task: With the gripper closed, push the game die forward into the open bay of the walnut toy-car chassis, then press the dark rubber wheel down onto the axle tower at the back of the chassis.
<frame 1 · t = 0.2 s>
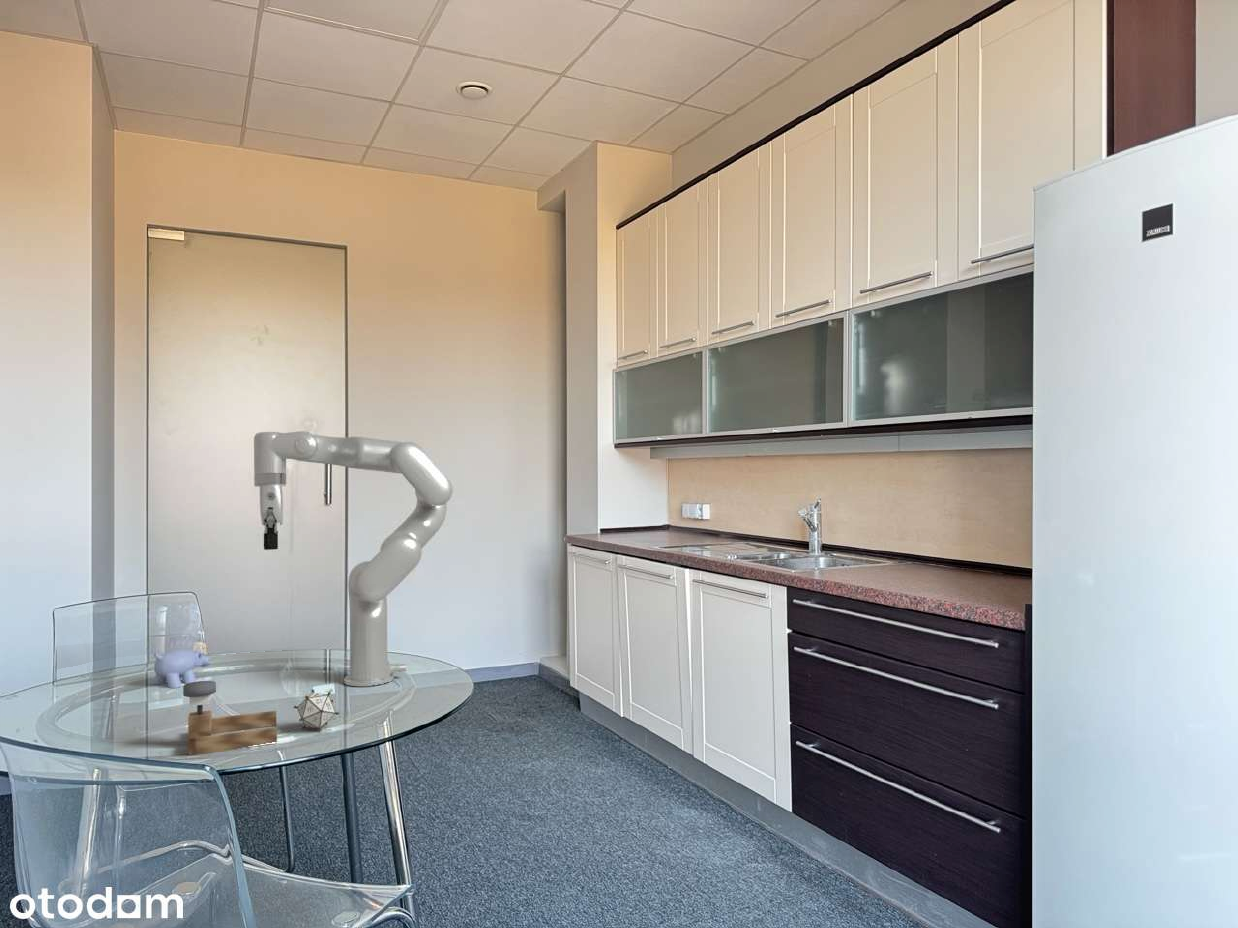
hand: (271, 547, 208), 37 cm above the table, tool pointing down, fingers open, 9 cm apart
chassis: (235, 738, 171), on the table
wheel: (199, 693, 169), point 10 cm above the table, slide at 0.0 cm
hippopotamus toy: (181, 682, 220), on the table
game die: (316, 729, 177), on the table
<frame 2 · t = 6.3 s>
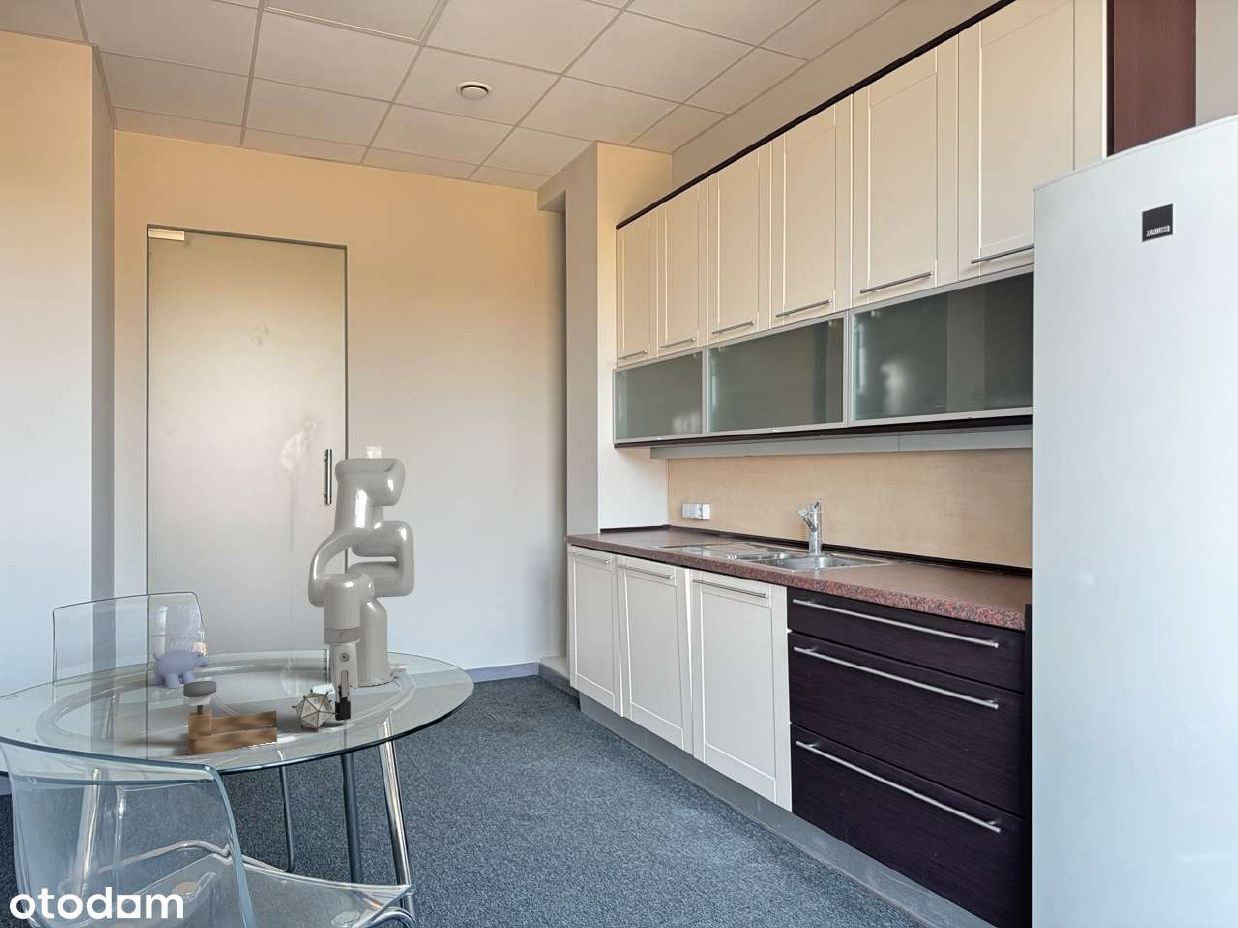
hand: (343, 718, 179), 1 cm above the table, tool pointing down, fingers closed
game die: (314, 729, 177), on the table, touching gripper
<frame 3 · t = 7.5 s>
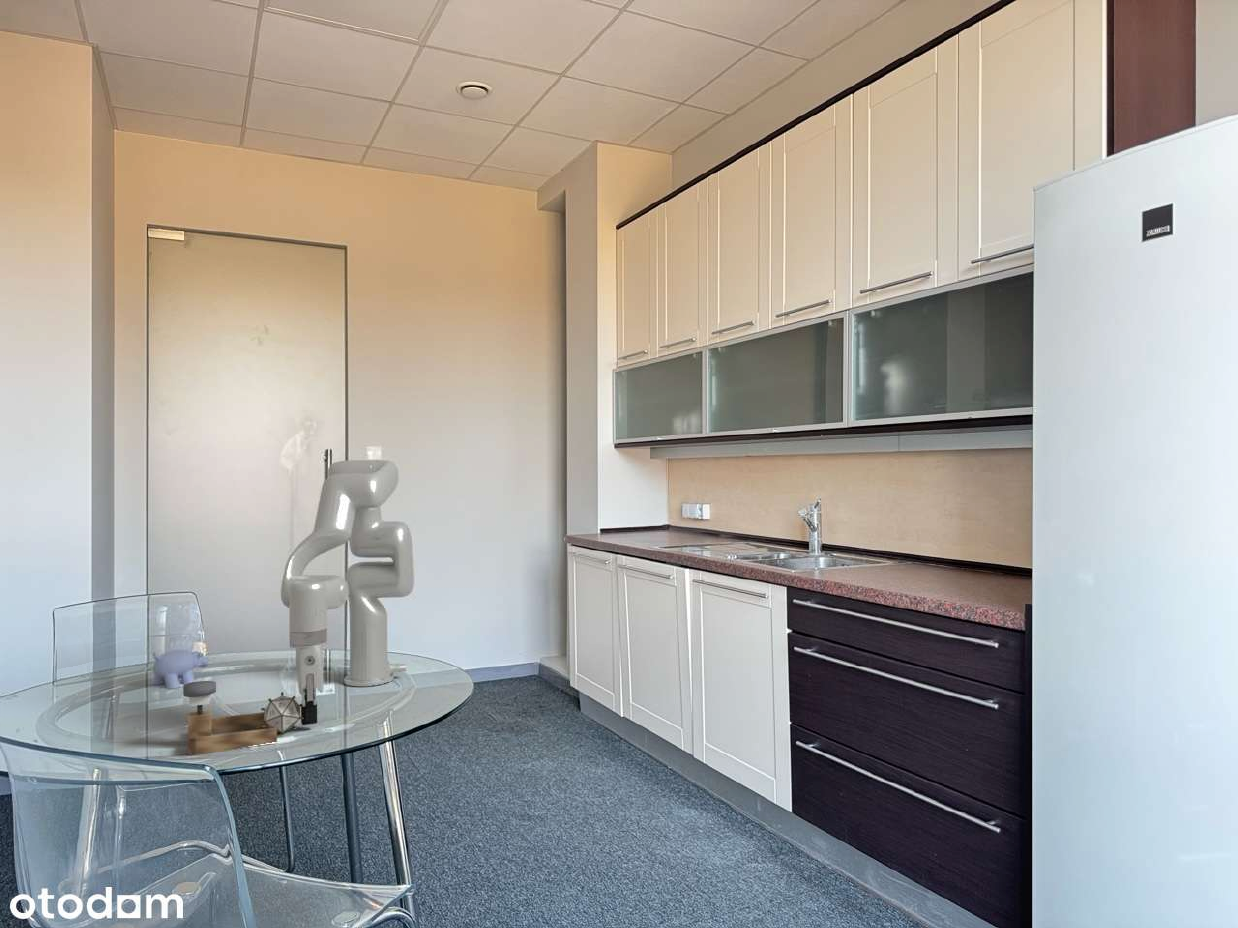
hand: (309, 723, 177), 1 cm above the table, tool pointing down, fingers closed
game die: (282, 733, 175), on the table, touching gripper
everything else where it was.
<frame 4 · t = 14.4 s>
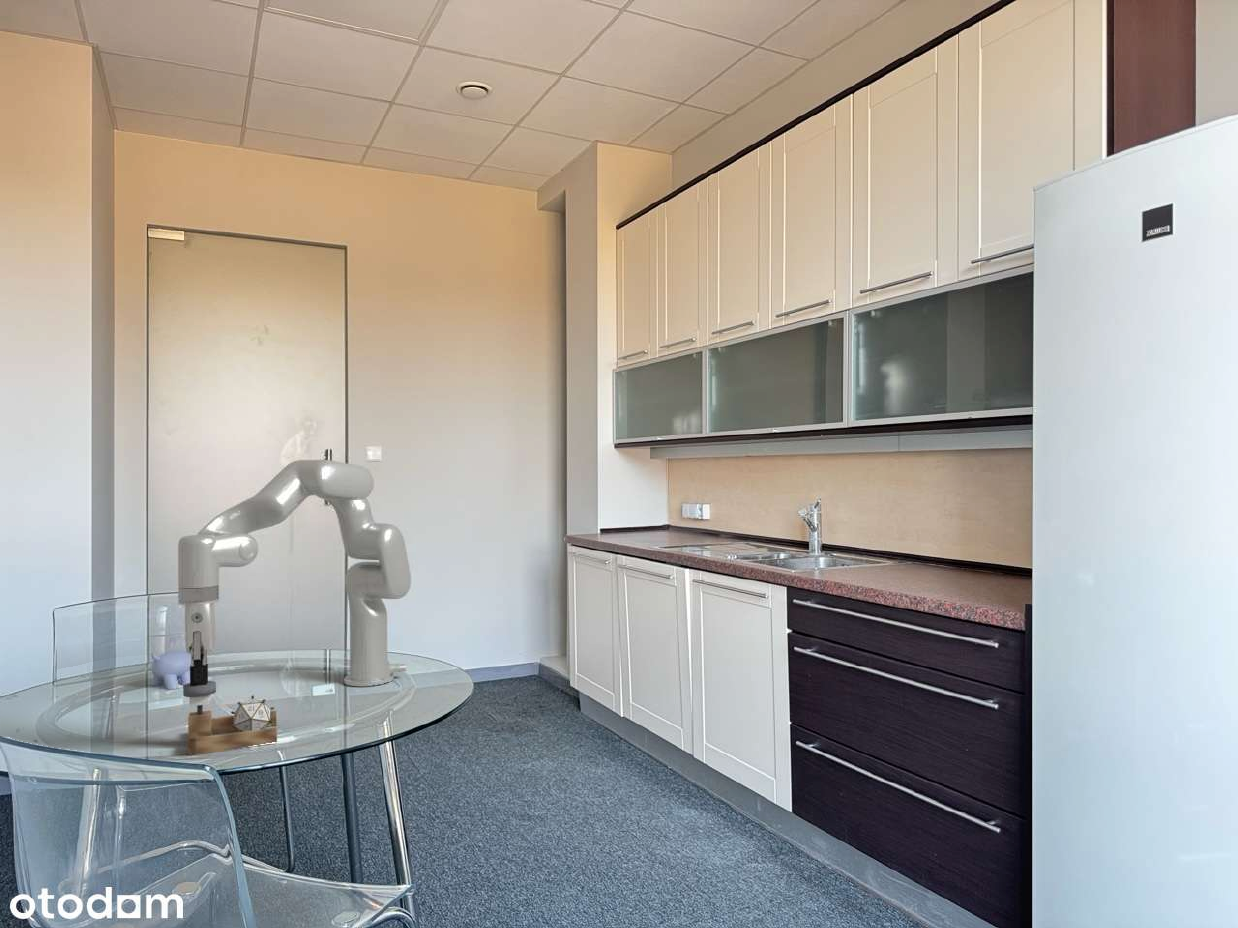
hand: (199, 684, 168), 12 cm above the table, tool pointing down, fingers closed
wheel: (199, 693, 169), point 10 cm above the table, slide at 0.0 cm, touching gripper
game die: (252, 737, 173), resting in chassis
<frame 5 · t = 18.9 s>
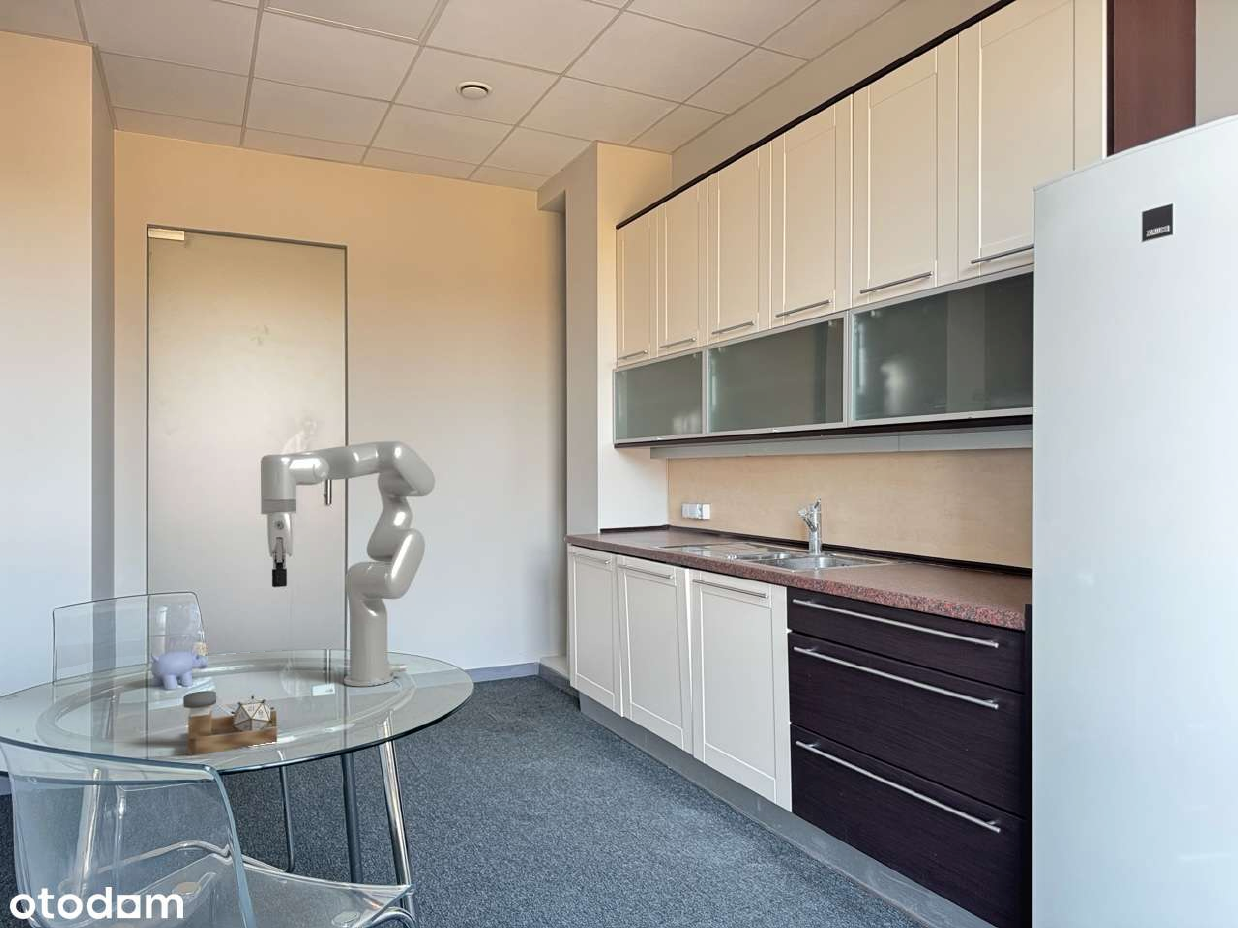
hand: (279, 586, 191), 29 cm above the table, tool pointing down, fingers closed
wheel: (199, 704, 169), point 8 cm above the table, slide at 2.2 cm
at the end: game die 1.1 cm from the target spot on the chassis, point 0.0 cm above the chassis's base; wheel slide at 2.2 cm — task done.
